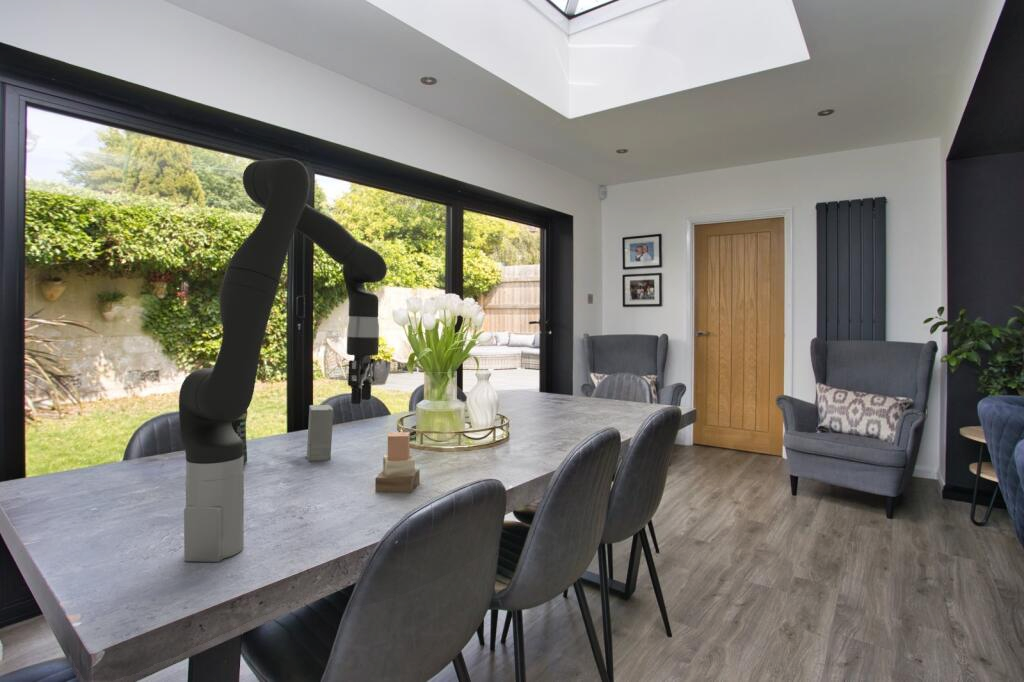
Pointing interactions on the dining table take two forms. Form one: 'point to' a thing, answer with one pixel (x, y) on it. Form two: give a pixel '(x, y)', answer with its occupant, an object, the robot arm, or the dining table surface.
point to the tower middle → (398, 467)
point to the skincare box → (319, 432)
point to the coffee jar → (241, 431)
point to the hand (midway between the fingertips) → (361, 401)
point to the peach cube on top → (398, 445)
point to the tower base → (397, 483)
